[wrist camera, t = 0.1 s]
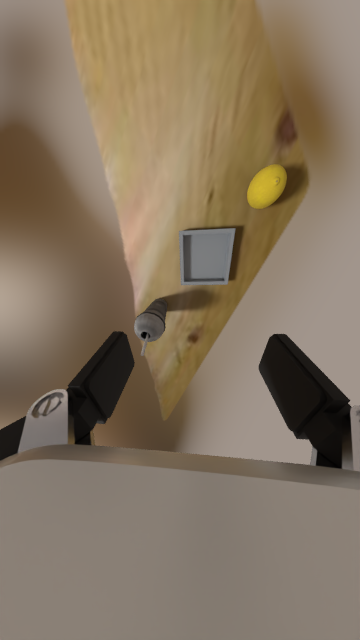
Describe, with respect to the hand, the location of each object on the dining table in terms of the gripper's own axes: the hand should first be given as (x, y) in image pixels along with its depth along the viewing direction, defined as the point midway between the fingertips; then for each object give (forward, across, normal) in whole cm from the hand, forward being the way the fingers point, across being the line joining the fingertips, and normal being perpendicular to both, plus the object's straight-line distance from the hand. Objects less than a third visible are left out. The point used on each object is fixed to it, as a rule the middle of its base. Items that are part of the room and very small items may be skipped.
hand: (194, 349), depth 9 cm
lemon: (+31, -13, -14) cm, 36 cm away
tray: (+31, -3, -2) cm, 31 cm away
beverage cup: (+31, +10, +11) cm, 35 cm away
